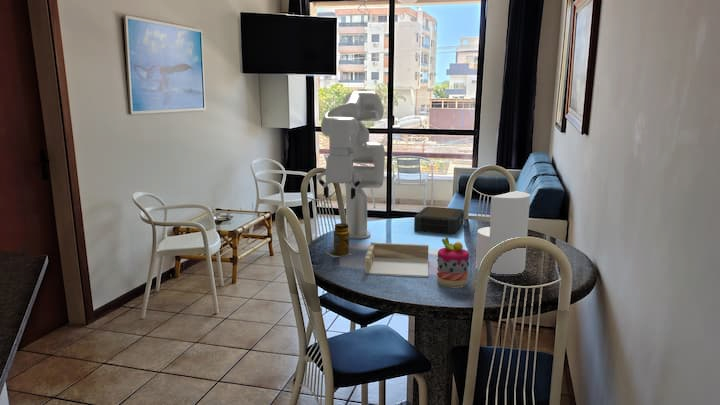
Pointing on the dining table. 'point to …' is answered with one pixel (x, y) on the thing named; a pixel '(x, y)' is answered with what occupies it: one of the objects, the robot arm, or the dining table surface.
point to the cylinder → (505, 231)
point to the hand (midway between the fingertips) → (339, 198)
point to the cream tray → (394, 252)
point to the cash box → (439, 220)
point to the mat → (399, 267)
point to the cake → (452, 265)
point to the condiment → (340, 241)
